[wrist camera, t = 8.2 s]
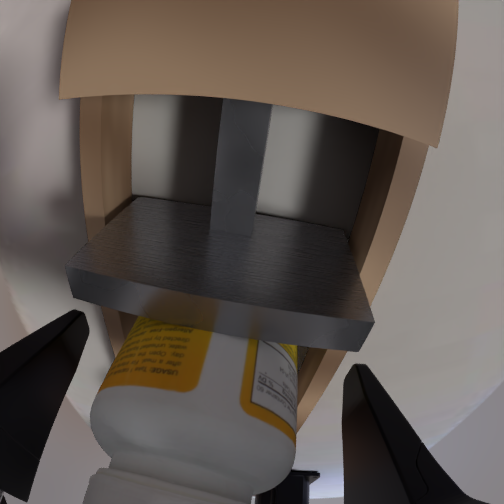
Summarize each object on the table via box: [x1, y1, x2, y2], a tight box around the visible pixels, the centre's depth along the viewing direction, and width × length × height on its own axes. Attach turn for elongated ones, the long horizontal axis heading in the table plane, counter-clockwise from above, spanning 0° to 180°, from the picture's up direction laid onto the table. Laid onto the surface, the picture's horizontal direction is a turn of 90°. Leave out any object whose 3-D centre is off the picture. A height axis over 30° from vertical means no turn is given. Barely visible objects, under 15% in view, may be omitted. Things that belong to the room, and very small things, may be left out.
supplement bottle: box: [83, 316, 298, 504], centre depth 8 cm, size 5×5×10 cm
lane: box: [59, 0, 458, 434], centre depth 11 cm, size 26×10×4 cm, turn 172°
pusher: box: [65, 98, 375, 352], centre depth 7 cm, size 7×7×4 cm
